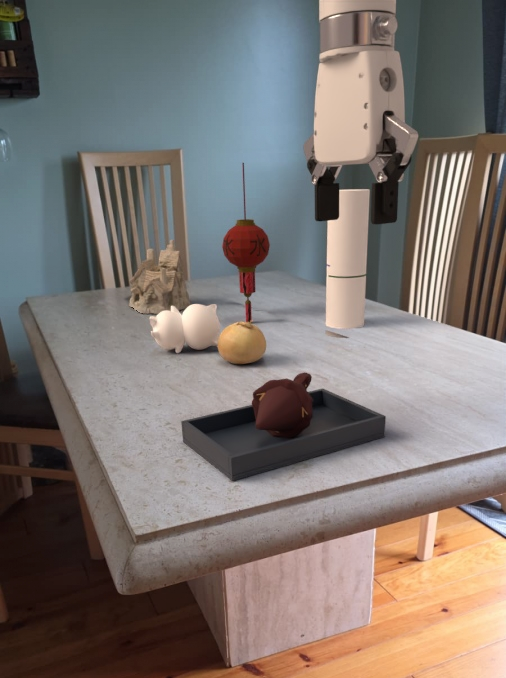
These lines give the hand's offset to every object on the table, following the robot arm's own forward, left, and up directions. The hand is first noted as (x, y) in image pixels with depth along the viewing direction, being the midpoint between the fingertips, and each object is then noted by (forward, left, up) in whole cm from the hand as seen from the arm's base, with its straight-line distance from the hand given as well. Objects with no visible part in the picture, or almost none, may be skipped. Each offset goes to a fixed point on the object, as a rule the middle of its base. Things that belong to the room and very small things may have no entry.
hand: (353, 221), depth 70 cm
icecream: (-2, +11, -23) cm, 25 cm away
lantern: (+53, -16, -23) cm, 60 cm away
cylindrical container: (+34, -26, -23) cm, 49 cm away
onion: (+29, -1, -23) cm, 37 cm away
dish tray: (-2, +11, -23) cm, 26 cm away
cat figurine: (+42, +3, -23) cm, 48 cm away
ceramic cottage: (+81, -7, -23) cm, 84 cm away
